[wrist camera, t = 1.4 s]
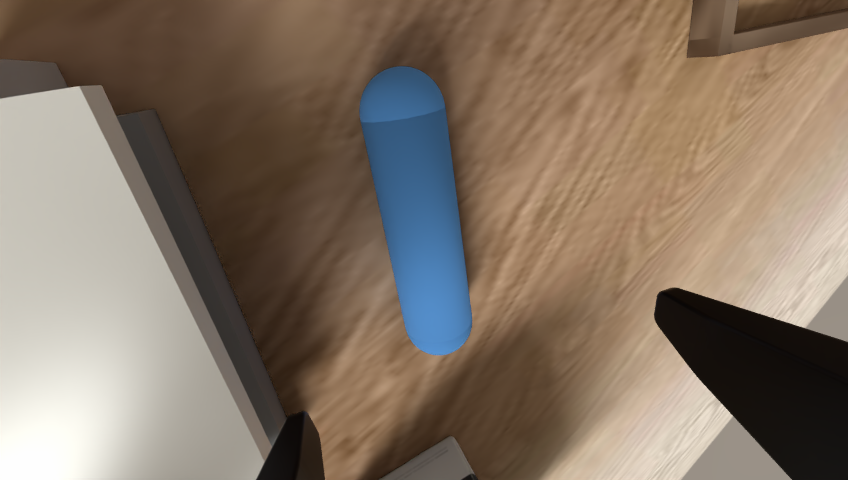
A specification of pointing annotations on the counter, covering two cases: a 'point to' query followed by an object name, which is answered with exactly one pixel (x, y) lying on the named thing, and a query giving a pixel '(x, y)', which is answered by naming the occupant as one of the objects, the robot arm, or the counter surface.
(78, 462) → the duct lid
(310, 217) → the counter surface
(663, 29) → the counter surface
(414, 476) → the tea box
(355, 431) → the counter surface
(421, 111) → the blue pill shape
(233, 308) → the duct
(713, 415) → the counter surface
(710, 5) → the frame
